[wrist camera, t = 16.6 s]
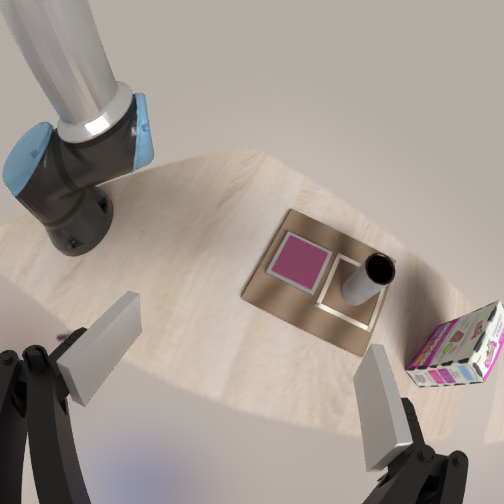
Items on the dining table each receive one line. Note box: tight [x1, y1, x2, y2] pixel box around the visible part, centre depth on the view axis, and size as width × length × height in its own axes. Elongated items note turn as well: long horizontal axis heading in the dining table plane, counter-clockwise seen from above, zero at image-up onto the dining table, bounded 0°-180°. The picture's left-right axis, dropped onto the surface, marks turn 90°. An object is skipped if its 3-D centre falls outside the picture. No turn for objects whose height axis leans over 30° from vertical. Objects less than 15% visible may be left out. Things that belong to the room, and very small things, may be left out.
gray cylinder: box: [341, 253, 395, 306], centre depth 37 cm, size 4×4×10 cm
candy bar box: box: [405, 300, 504, 387], centre depth 30 cm, size 11×5×16 cm, turn 129°
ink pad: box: [266, 231, 332, 297], centre depth 43 cm, size 8×8×2 cm
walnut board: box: [242, 209, 396, 357], centre depth 43 cm, size 21×18×1 cm
